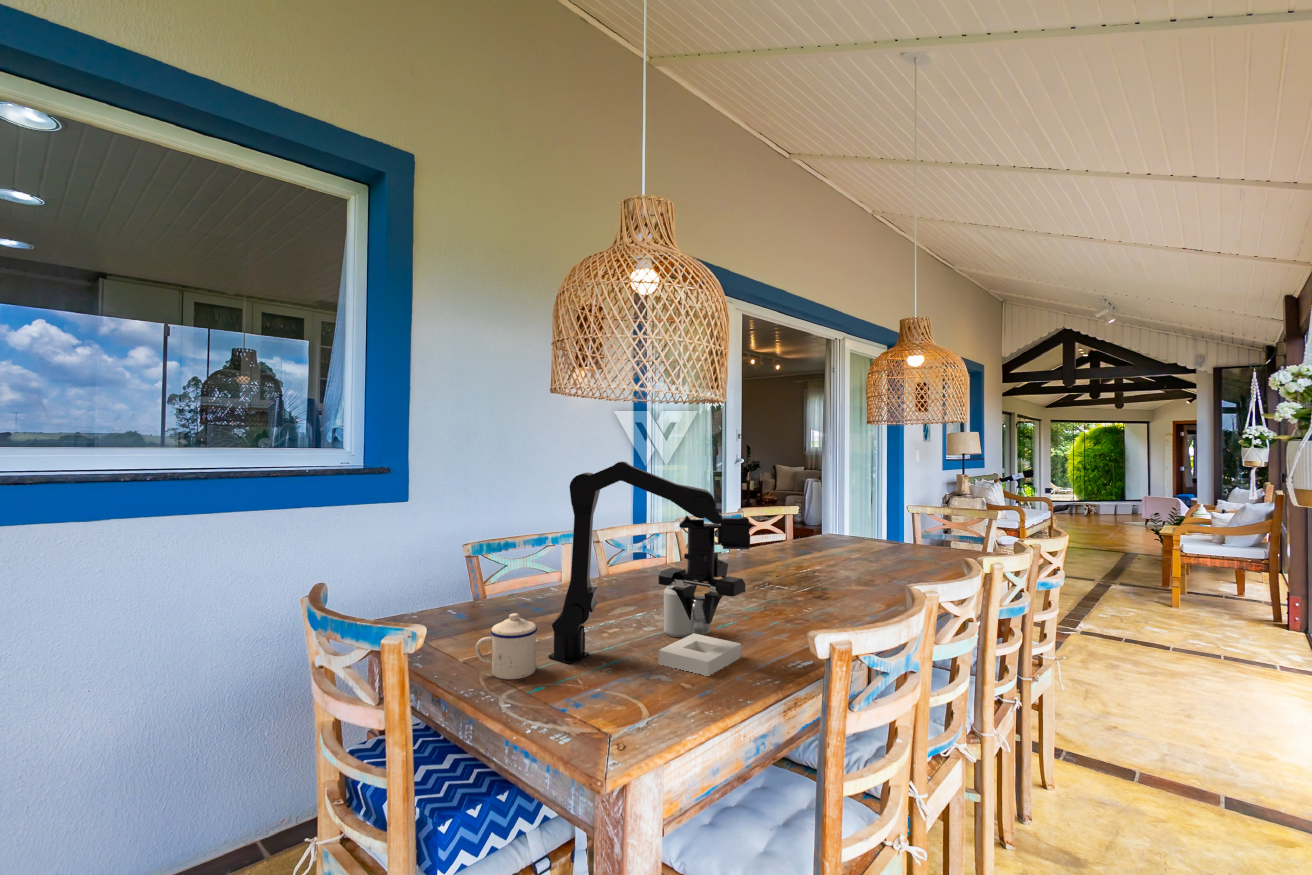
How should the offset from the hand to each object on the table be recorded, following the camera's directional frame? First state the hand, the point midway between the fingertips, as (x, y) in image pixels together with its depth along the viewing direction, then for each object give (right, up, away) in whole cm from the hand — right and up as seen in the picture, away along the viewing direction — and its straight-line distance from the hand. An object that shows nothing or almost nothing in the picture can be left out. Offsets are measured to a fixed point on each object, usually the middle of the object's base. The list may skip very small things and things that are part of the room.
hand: (700, 621), depth 134 cm
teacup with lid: (-40, -8, -7) cm, 41 cm away
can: (-4, -9, +19) cm, 21 cm away
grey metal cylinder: (0, -2, 0) cm, 2 cm away
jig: (0, -8, 0) cm, 8 cm away
